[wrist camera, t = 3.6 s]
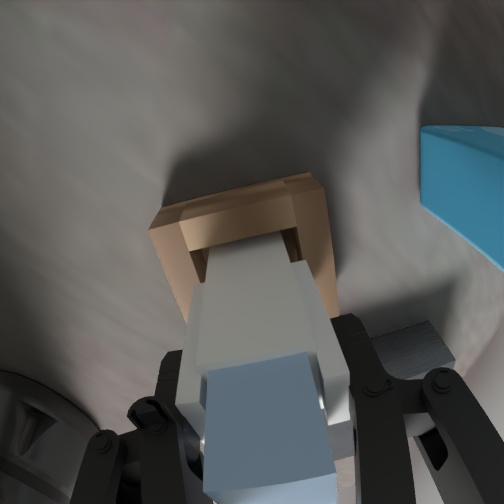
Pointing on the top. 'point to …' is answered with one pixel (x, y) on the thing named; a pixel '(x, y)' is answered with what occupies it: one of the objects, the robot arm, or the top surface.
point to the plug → (261, 381)
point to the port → (396, 371)
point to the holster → (247, 232)
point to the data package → (466, 183)
